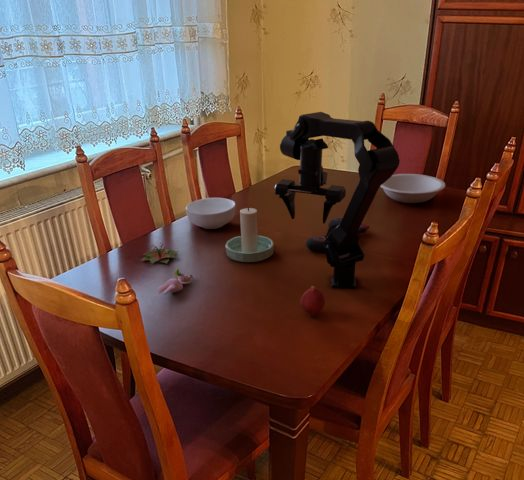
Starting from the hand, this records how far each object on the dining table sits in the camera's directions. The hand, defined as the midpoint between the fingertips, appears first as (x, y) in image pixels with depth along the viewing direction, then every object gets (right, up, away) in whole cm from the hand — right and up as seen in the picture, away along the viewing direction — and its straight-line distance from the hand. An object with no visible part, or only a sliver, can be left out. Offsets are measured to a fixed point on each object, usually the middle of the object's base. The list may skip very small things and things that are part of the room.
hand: (308, 220), depth 152 cm
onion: (-1, -28, -18) cm, 33 cm away
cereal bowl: (-30, +7, +35) cm, 47 cm away
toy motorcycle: (+12, -2, +20) cm, 24 cm away
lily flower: (-44, -8, +13) cm, 47 cm away
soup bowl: (+42, +20, +52) cm, 70 cm away
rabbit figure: (-36, -20, -5) cm, 42 cm away
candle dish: (-17, -7, +14) cm, 23 cm away
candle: (-17, -6, +14) cm, 23 cm away
